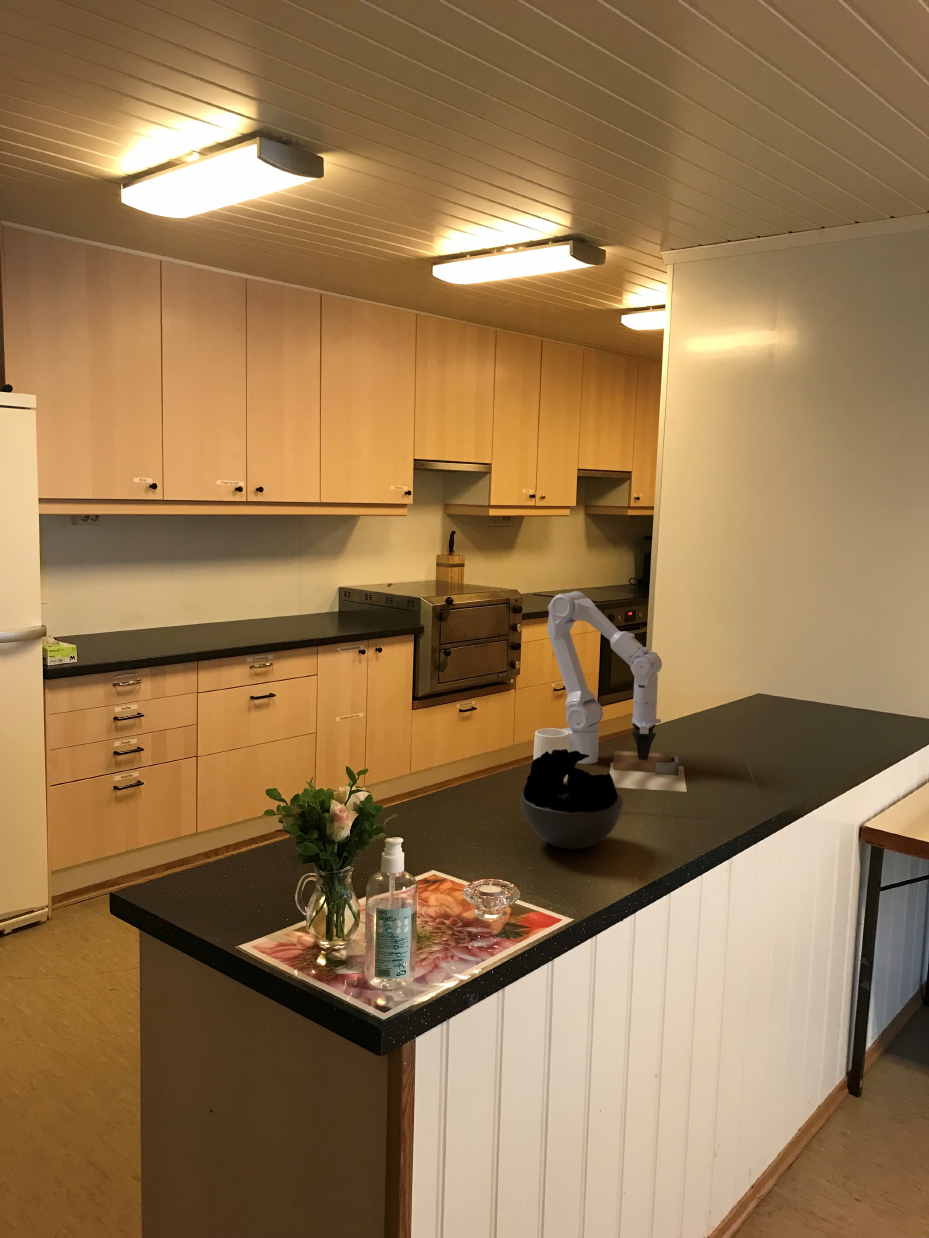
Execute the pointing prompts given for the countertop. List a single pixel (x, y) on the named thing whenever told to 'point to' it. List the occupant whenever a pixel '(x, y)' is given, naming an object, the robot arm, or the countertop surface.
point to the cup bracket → (668, 767)
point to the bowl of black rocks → (569, 801)
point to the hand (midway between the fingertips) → (642, 755)
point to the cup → (551, 742)
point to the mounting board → (648, 780)
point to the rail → (638, 761)
